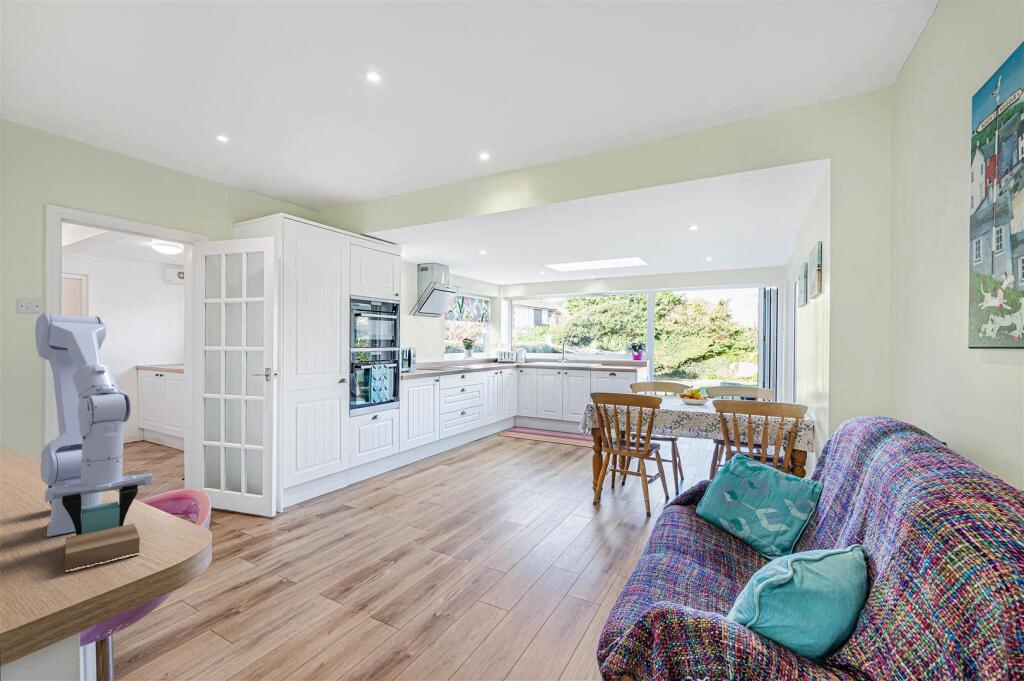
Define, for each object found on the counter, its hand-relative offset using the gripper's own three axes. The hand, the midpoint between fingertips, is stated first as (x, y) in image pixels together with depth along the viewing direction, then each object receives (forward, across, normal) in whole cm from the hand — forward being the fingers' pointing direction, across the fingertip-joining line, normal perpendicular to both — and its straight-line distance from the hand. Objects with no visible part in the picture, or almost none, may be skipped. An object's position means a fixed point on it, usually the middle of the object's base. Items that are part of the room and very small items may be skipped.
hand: (99, 531), depth 82 cm
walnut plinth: (+2, 0, -9) cm, 9 cm away
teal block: (+2, 0, 0) cm, 2 cm away
